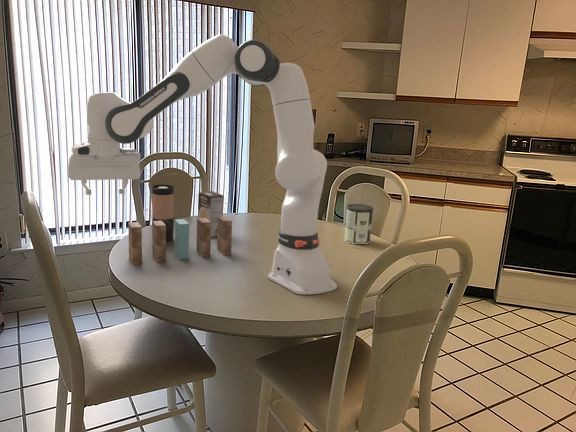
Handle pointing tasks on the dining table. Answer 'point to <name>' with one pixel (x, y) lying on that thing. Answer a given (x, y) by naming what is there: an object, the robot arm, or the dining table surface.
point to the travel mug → (164, 207)
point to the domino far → (135, 242)
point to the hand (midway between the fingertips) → (105, 194)
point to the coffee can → (358, 224)
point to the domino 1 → (159, 240)
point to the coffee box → (211, 208)
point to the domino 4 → (224, 235)
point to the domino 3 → (203, 237)
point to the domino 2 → (182, 239)
